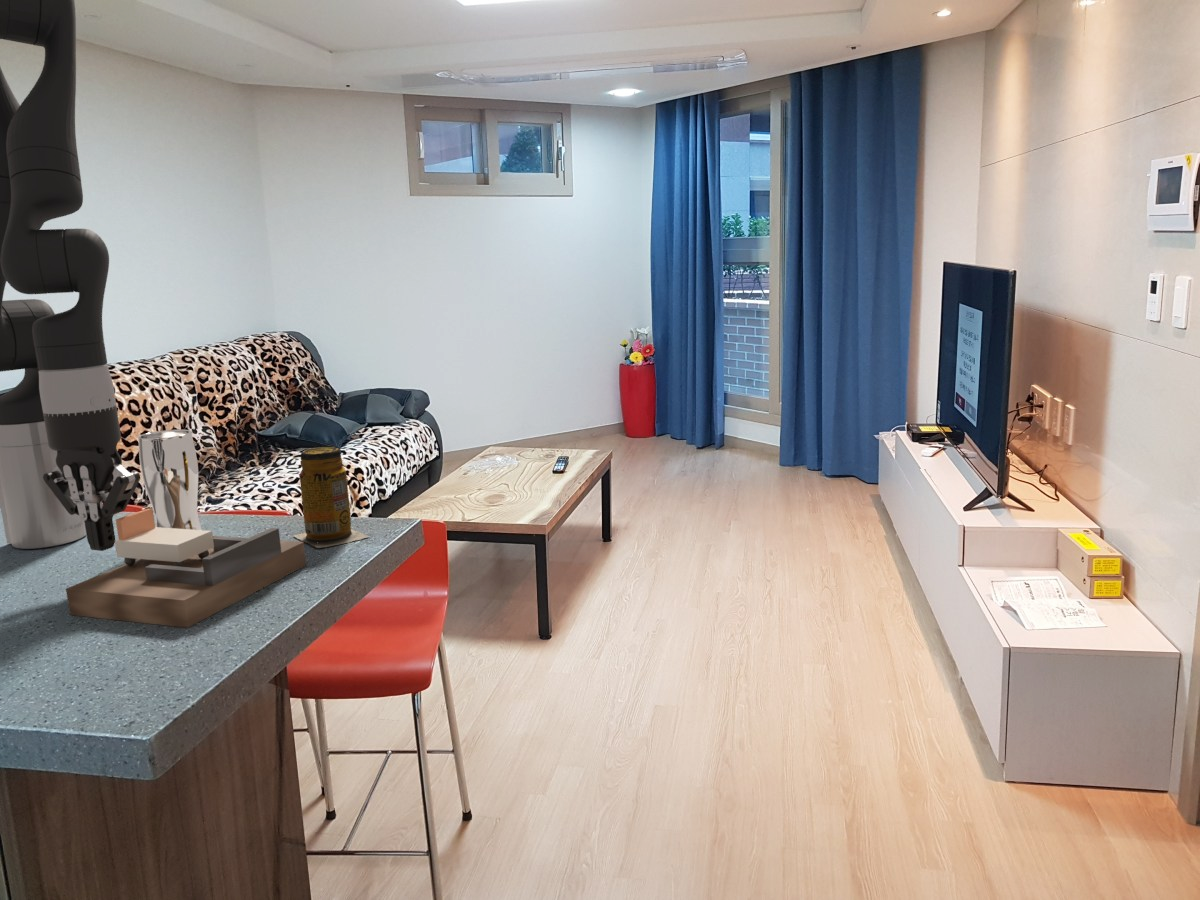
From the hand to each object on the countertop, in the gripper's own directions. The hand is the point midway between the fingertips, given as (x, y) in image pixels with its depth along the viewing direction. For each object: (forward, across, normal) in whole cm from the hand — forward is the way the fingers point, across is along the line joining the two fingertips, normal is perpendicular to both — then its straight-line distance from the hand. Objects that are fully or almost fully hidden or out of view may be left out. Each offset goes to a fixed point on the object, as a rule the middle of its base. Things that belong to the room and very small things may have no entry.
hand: (102, 548), depth 112 cm
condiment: (+4, -17, -21) cm, 27 cm away
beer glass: (+4, +3, -15) cm, 16 cm away
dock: (+4, -13, 0) cm, 14 cm away
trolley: (+1, -10, 0) cm, 10 cm away
